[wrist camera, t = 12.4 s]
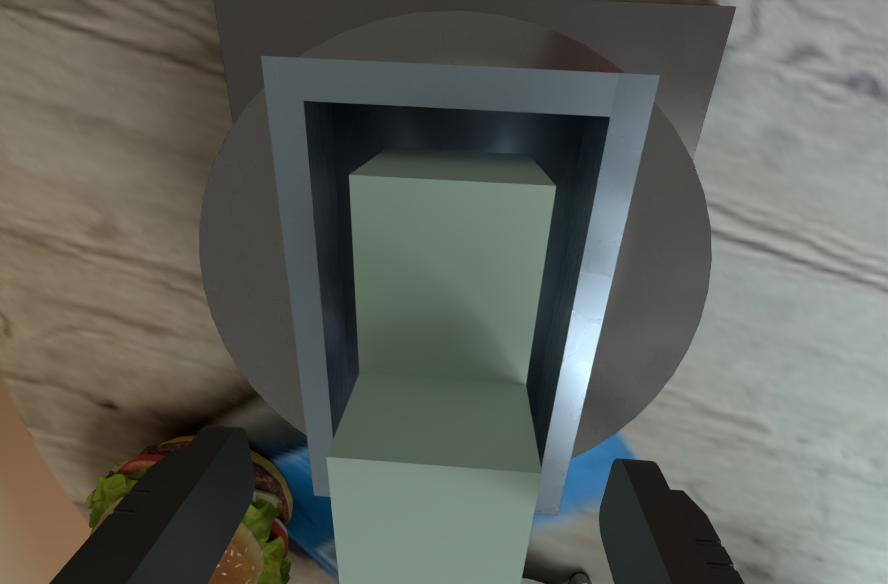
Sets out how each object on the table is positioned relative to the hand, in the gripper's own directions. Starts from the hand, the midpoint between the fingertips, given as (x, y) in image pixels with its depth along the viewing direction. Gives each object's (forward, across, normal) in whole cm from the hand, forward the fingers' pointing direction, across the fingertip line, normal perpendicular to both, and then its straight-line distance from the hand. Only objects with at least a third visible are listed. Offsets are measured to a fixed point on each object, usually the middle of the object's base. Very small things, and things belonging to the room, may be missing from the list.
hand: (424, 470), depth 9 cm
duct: (+16, 0, 0) cm, 16 cm away
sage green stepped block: (+8, 0, -1) cm, 8 cm away
